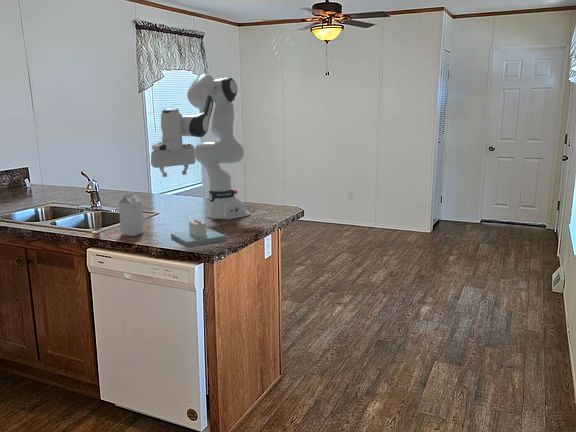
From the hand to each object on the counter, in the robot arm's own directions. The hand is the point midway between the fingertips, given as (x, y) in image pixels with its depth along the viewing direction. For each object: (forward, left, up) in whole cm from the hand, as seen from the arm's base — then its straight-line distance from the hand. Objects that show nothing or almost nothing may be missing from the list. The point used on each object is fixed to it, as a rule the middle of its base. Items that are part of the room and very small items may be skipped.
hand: (174, 175), depth 231 cm
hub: (-2, +19, -26) cm, 32 cm away
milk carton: (+19, -7, -26) cm, 33 cm away
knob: (-2, +19, -24) cm, 31 cm away
